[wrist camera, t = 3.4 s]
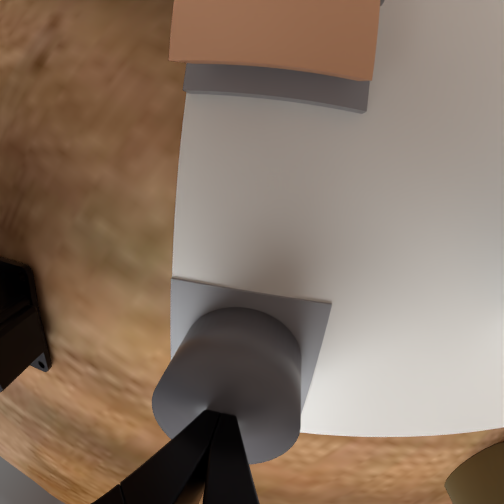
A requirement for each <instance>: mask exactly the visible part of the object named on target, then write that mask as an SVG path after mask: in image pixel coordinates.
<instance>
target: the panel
mask: <svg viewBox="0 0 504 504" xmlns="http://www.w3.org/2000/svg"><path fill="white" fill-rule="evenodd" d="M183 91H185V92H187V93H186V101H185V109H184V117H183V126H182V135H181V145H180V155H179V166H178V178H177V191H176V205H175V221H174V241H173V266H172V278H171V360H172V358H173V357H174V355H175V353H176V351H177V350H178V348H179V346H180V344H181V343H182V341H183V339H184V337H185V336H186V334H187V332H188V330H189V329H190V328H191V326H192V325H193V324H194V323H195V322H196V321H197V320H198V319H199V318H200V317H202V316H203V315H205V314H207V313H209V312H212V311H214V310H217V309H221V308H228V307H243V308H250V309H254V310H258V311H261V312H264V313H266V314H268V315H270V316H272V317H274V318H275V319H277V320H279V321H280V322H281V323H282V324H284V325H285V326H286V327H287V328H288V329H289V330H290V331H291V333H292V334H293V335H294V337H295V338H296V340H297V342H298V345H299V348H300V351H301V428H300V432H302V433H313V434H325V435H339V436H362V437H409V436H431V435H445V434H457V433H466V432H475V431H482V430H489V429H496V428H502V427H504V0H385V1H384V3H383V4H382V6H380V12H379V24H378V34H377V44H376V53H375V62H374V70H373V77H372V81H355V80H350V79H345V78H340V77H335V76H329V75H323V74H317V73H310V72H303V71H296V70H288V69H279V68H269V67H258V66H245V65H227V64H192V63H187V64H186V71H185V78H184V85H183Z"/></svg>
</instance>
